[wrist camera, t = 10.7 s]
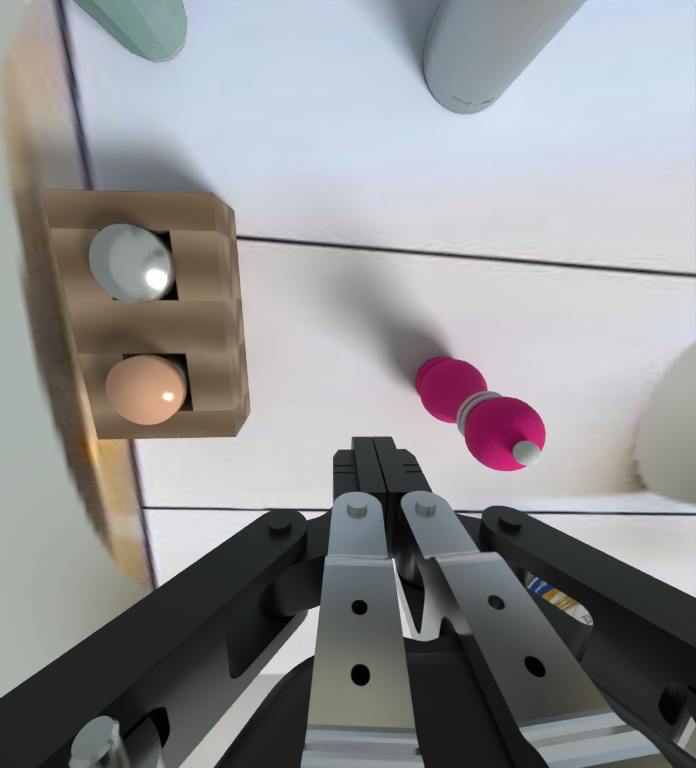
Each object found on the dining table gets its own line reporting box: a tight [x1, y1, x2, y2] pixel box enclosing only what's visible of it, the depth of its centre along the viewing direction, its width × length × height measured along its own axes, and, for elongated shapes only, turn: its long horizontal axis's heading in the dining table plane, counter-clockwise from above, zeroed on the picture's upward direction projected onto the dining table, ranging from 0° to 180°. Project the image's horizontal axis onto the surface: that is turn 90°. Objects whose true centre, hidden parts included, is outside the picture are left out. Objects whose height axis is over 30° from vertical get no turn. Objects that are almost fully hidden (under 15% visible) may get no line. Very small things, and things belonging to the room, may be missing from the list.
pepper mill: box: [416, 357, 546, 471], centre depth 32 cm, size 7×7×20 cm
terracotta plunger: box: [106, 353, 190, 425], centre depth 33 cm, size 6×6×7 cm
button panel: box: [41, 189, 250, 439], centre depth 35 cm, size 23×14×7 cm, turn 0°
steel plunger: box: [89, 224, 177, 304], centre depth 31 cm, size 6×6×7 cm
